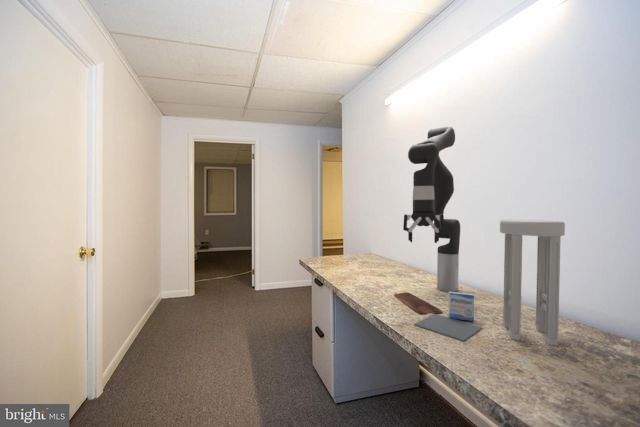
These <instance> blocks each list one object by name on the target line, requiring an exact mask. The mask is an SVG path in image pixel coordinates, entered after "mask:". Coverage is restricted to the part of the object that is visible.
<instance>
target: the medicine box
mask: <svg viewBox="0 0 640 427" xmlns="http://www.w3.org/2000/svg"><path fill="white" fill-rule="evenodd" d="M448 318H452V319H455V320H459V321H470V322H474V321H475V296H474V293H468V292H467V293H466V292H458V291H455V292H448Z"/></svg>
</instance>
